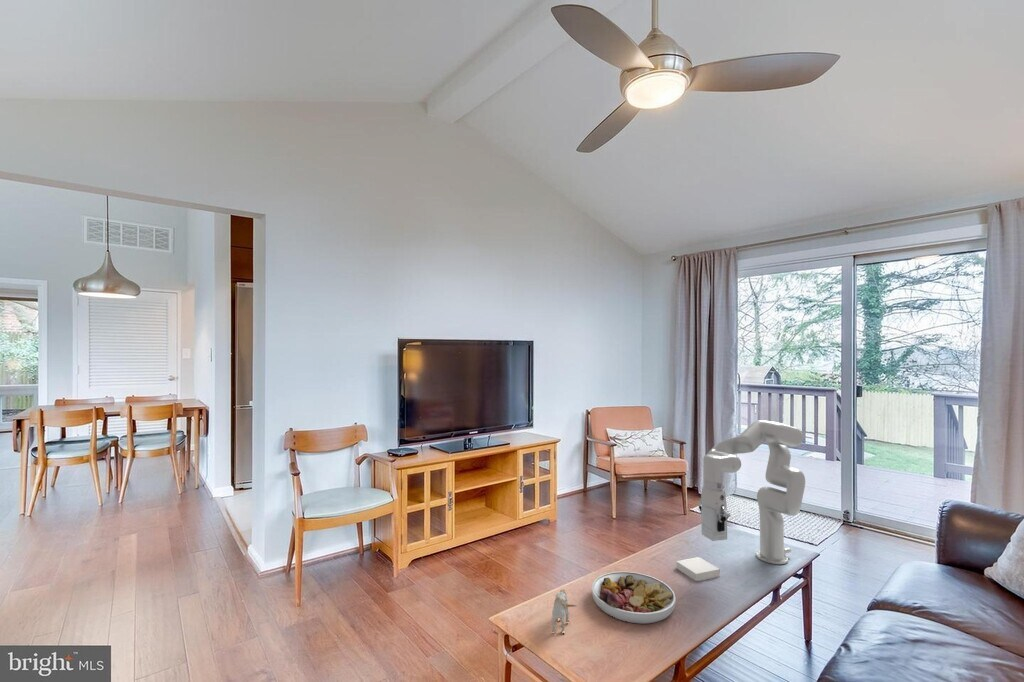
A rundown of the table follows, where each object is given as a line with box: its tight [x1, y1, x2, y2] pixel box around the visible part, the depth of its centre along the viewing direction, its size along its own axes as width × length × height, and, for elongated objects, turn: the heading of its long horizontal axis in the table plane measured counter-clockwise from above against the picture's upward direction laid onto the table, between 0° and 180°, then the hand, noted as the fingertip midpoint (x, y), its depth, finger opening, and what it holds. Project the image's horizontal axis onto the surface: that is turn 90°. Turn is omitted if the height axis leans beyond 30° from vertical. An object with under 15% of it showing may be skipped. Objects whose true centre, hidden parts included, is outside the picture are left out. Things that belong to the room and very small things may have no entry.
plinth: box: [675, 556, 721, 582], centre depth 196 cm, size 12×12×3 cm
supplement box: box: [700, 505, 728, 542], centre depth 193 cm, size 7×7×13 cm
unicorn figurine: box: [551, 588, 578, 633], centre depth 155 cm, size 7×20×13 cm, turn 2°
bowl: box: [591, 570, 676, 624], centre depth 172 cm, size 30×30×8 cm
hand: (712, 527), depth 193 cm, fingers closed on supplement box, 7 cm apart
